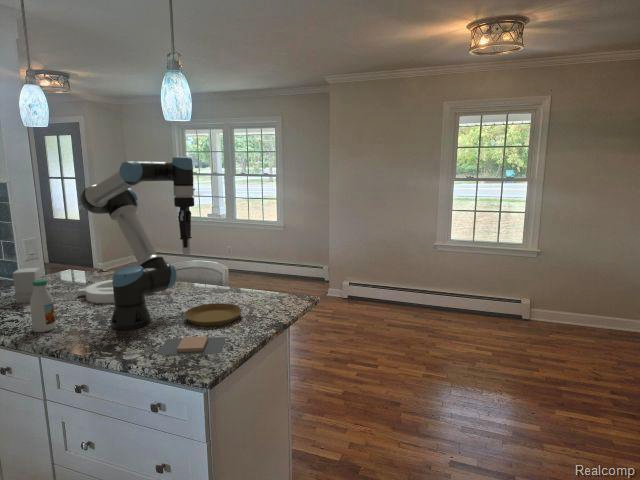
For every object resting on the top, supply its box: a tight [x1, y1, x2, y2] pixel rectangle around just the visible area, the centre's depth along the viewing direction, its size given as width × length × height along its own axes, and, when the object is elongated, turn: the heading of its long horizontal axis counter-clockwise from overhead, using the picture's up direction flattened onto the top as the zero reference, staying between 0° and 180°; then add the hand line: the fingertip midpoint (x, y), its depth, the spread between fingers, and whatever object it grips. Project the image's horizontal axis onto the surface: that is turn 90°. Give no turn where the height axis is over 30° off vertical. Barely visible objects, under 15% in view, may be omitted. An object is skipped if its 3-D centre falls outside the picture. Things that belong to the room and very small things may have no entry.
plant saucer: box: [184, 302, 243, 327], centre depth 179 cm, size 24×24×3 cm
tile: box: [177, 335, 209, 352], centre depth 150 cm, size 9×1×10 cm
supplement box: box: [12, 267, 42, 304], centre depth 199 cm, size 9×9×15 cm
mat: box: [156, 336, 227, 356], centre depth 150 cm, size 22×14×1 cm, turn 96°
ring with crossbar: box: [76, 279, 114, 304], centre depth 211 cm, size 28×28×5 cm
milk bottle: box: [29, 278, 57, 333], centre depth 163 cm, size 8×8×20 cm
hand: (186, 254), depth 167 cm, fingers closed
